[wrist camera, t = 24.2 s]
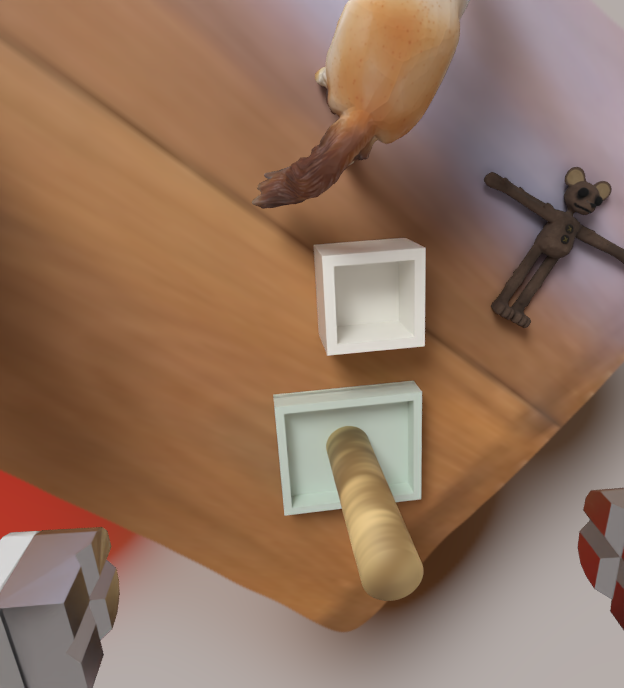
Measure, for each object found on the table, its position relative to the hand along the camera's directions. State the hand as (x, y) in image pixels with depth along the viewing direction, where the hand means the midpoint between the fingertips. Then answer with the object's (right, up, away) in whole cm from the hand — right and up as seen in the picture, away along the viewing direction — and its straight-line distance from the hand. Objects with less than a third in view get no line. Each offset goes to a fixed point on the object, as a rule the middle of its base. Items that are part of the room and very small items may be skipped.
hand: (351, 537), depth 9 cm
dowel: (+3, -7, +45) cm, 45 cm away
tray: (+3, -7, +46) cm, 46 cm away
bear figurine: (+21, +13, +42) cm, 48 cm away
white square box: (+4, +9, +40) cm, 42 cm away
